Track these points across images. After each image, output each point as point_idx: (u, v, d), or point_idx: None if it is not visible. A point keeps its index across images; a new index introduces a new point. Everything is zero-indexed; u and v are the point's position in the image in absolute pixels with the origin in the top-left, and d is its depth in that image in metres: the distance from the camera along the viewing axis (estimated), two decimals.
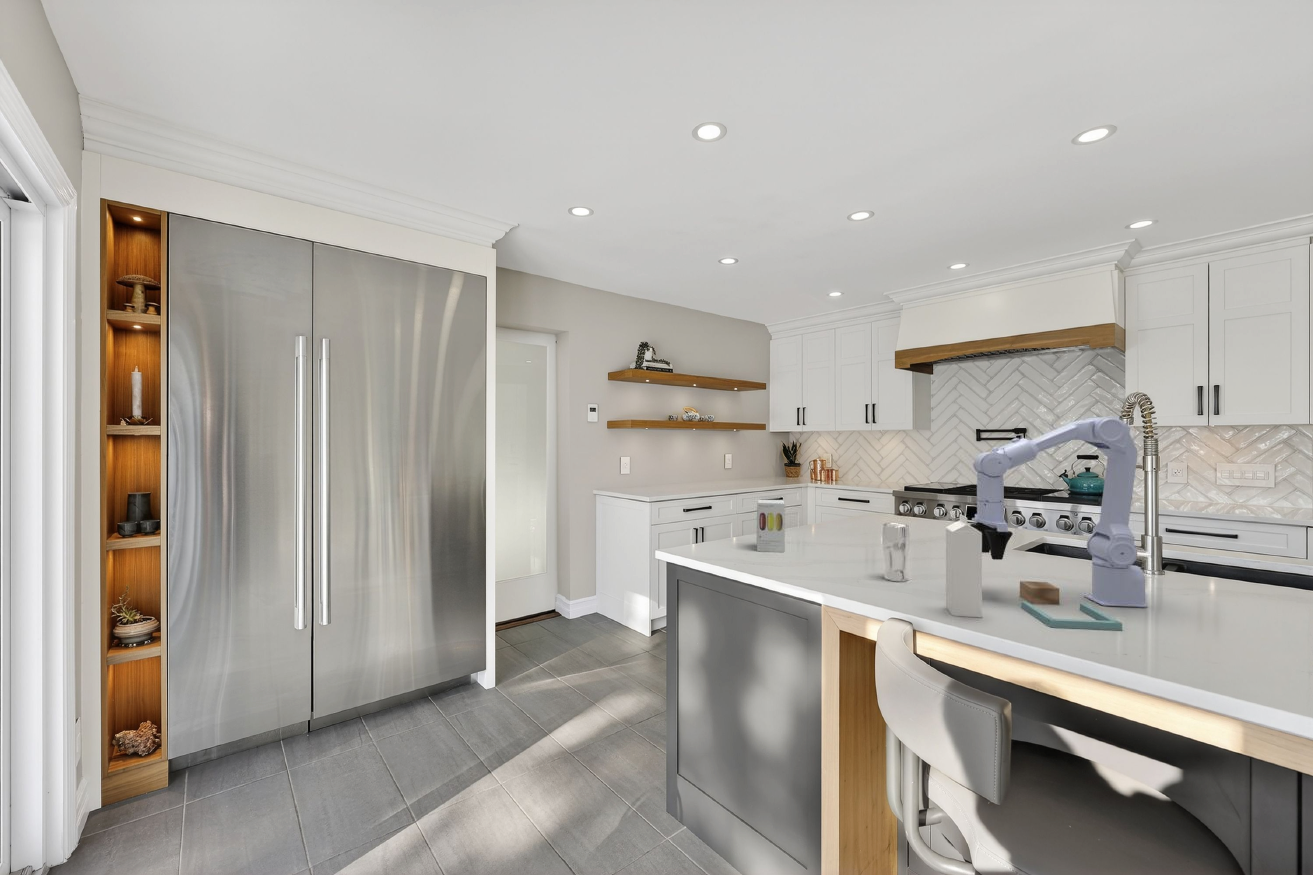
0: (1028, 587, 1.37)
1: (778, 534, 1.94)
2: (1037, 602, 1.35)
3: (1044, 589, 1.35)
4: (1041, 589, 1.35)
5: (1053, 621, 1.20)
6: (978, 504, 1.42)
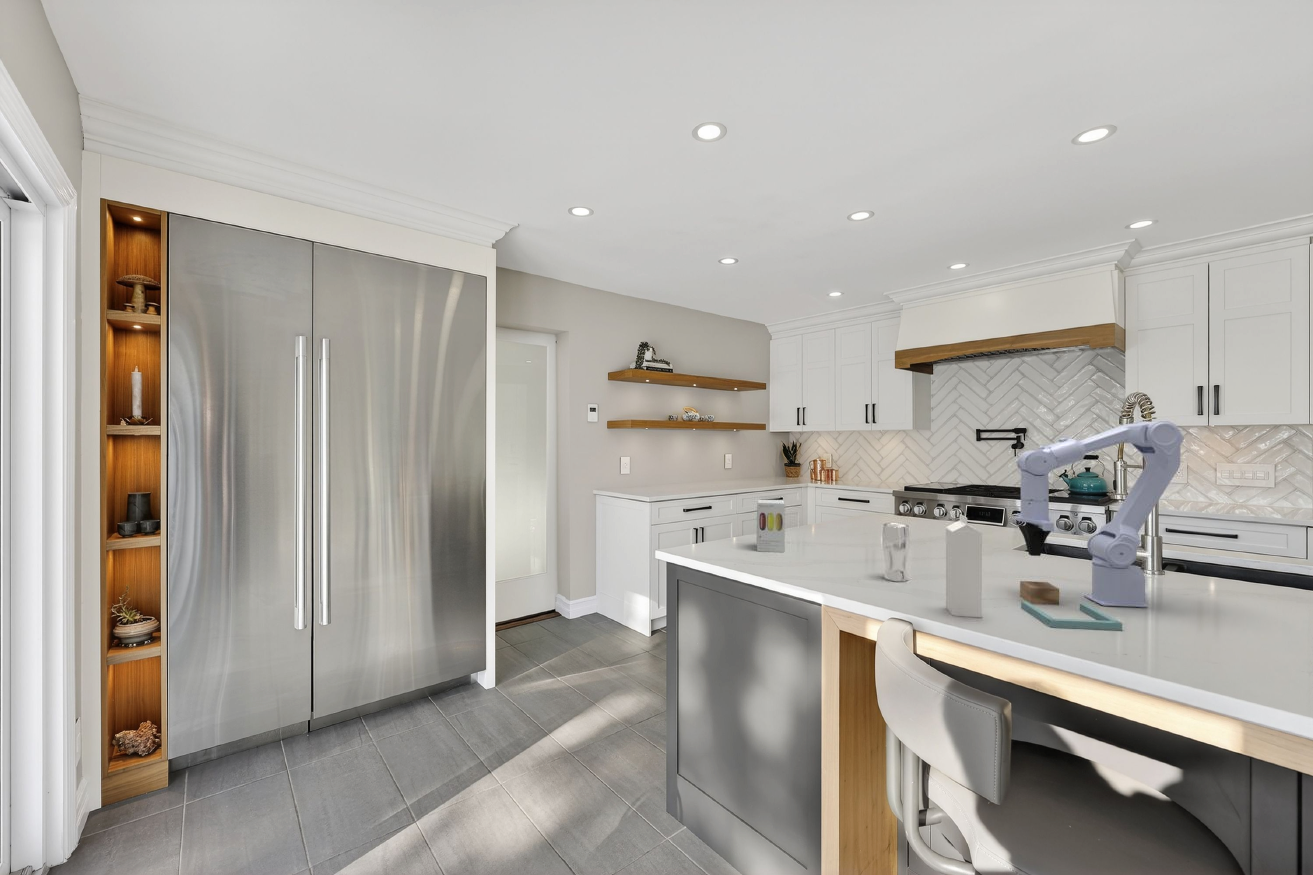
0: (1028, 587, 1.37)
1: (778, 534, 1.94)
2: (1037, 602, 1.35)
3: (1044, 589, 1.35)
4: (1041, 589, 1.35)
5: (1053, 621, 1.20)
6: (1022, 503, 1.40)
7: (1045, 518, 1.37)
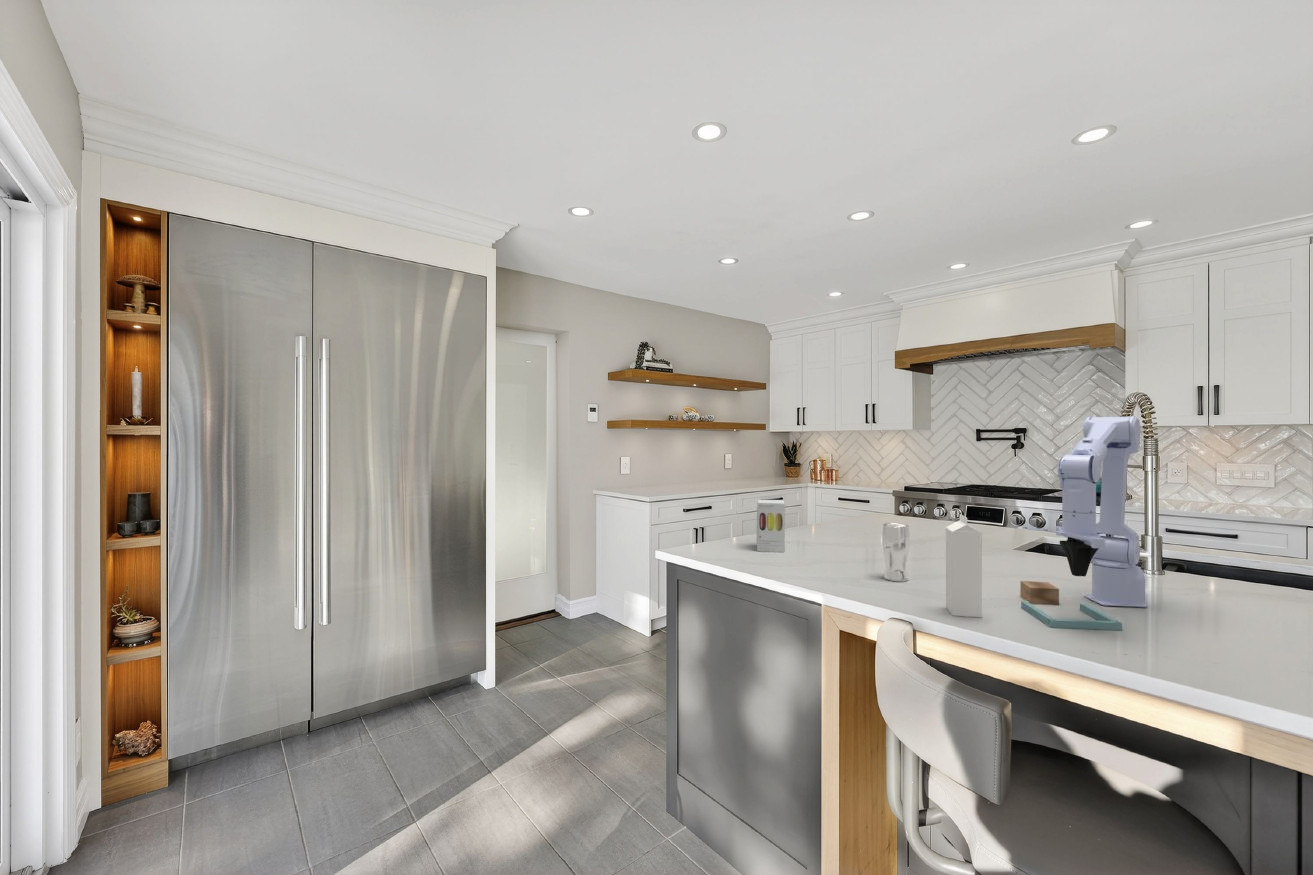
0: (1027, 587, 1.37)
1: (778, 534, 1.94)
2: (1036, 602, 1.35)
3: (1043, 589, 1.35)
4: (1040, 589, 1.35)
5: (1053, 621, 1.20)
6: (1064, 515, 1.21)
7: (1092, 533, 1.18)
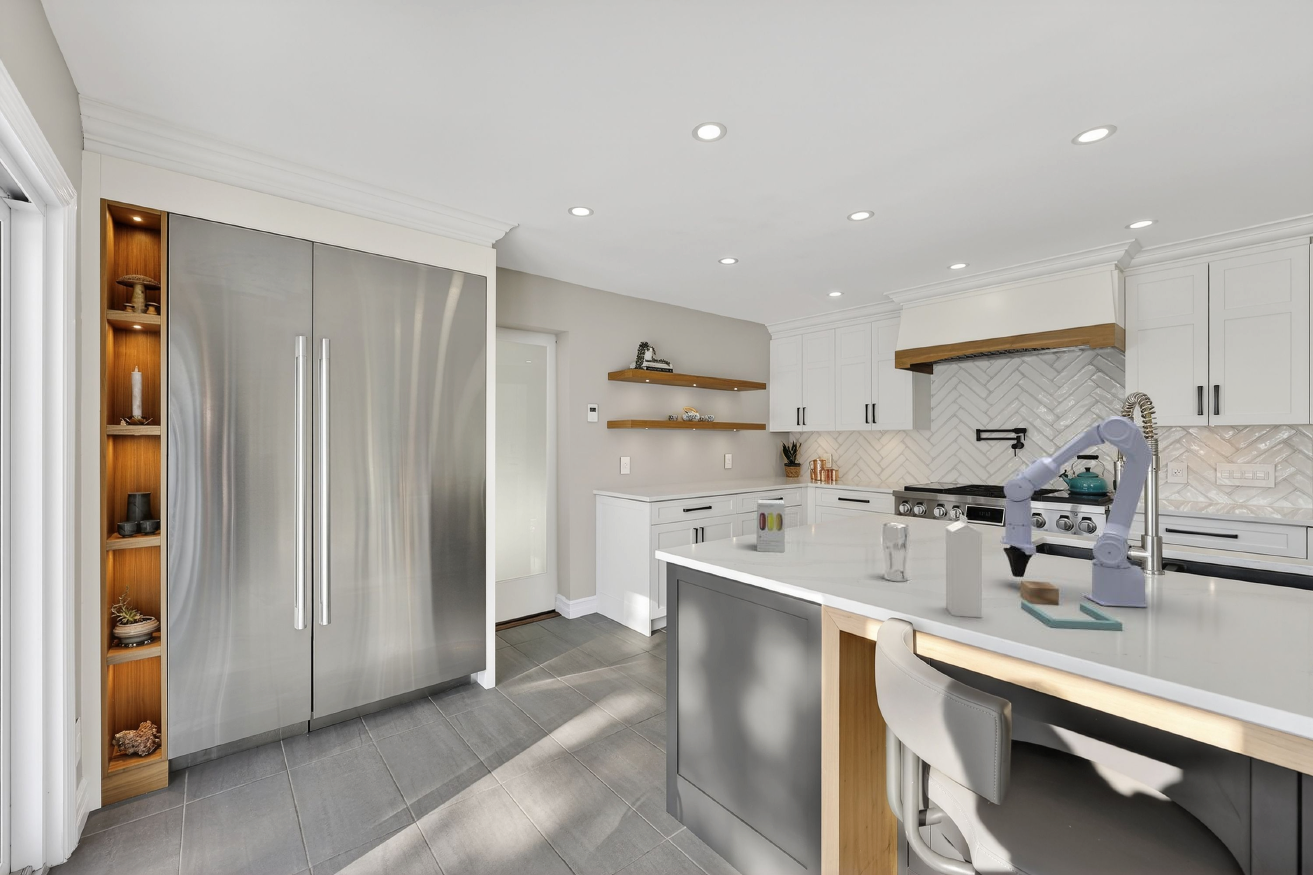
0: (1027, 587, 1.37)
1: (778, 534, 1.94)
2: (1036, 602, 1.35)
3: (1043, 589, 1.35)
4: (1040, 589, 1.35)
5: (1053, 621, 1.20)
6: (1007, 527, 1.49)
7: (1028, 542, 1.46)
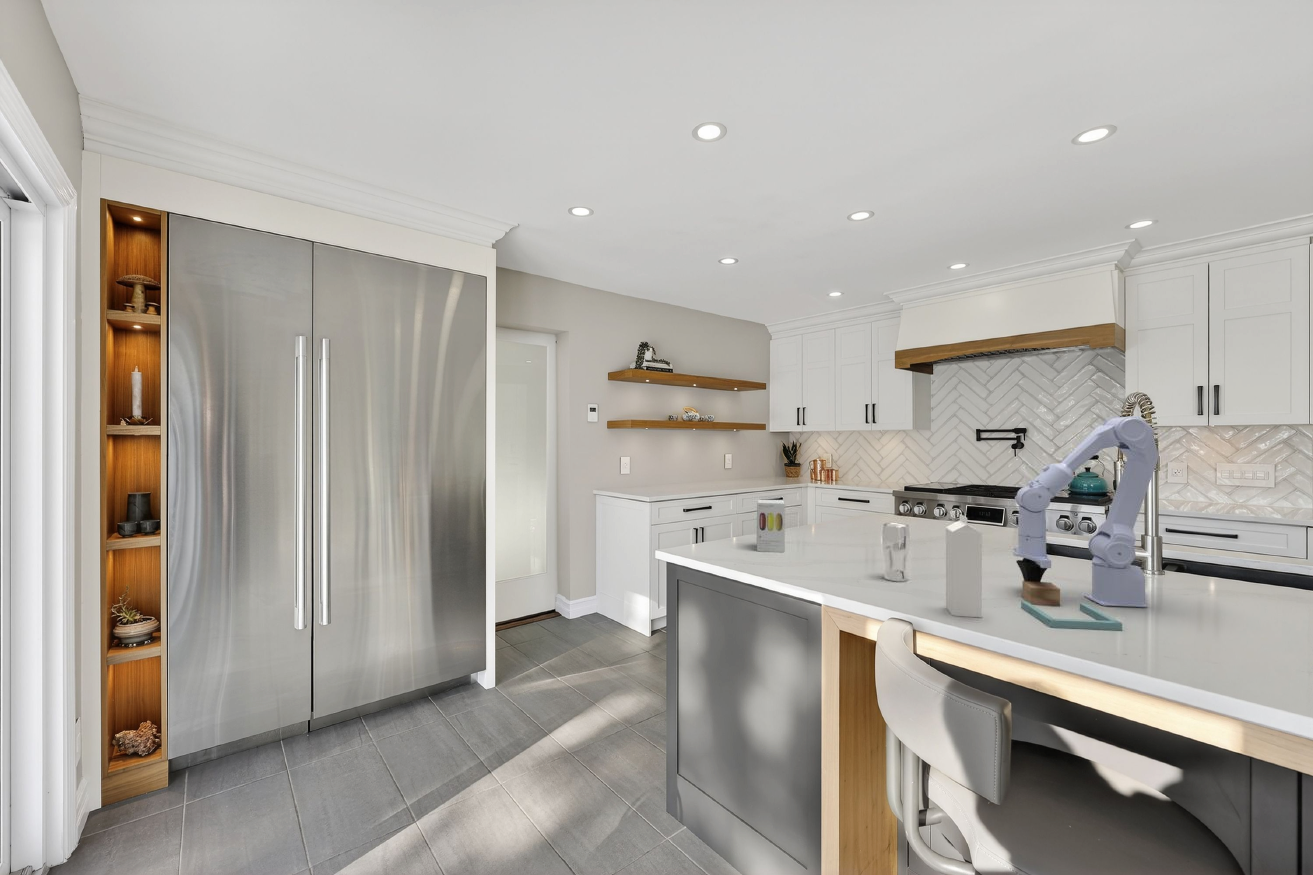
0: (1028, 587, 1.36)
1: (778, 534, 1.94)
2: (1037, 602, 1.35)
3: (1044, 589, 1.34)
4: (1041, 589, 1.34)
5: (1053, 621, 1.20)
6: (1020, 538, 1.42)
7: (1042, 554, 1.39)
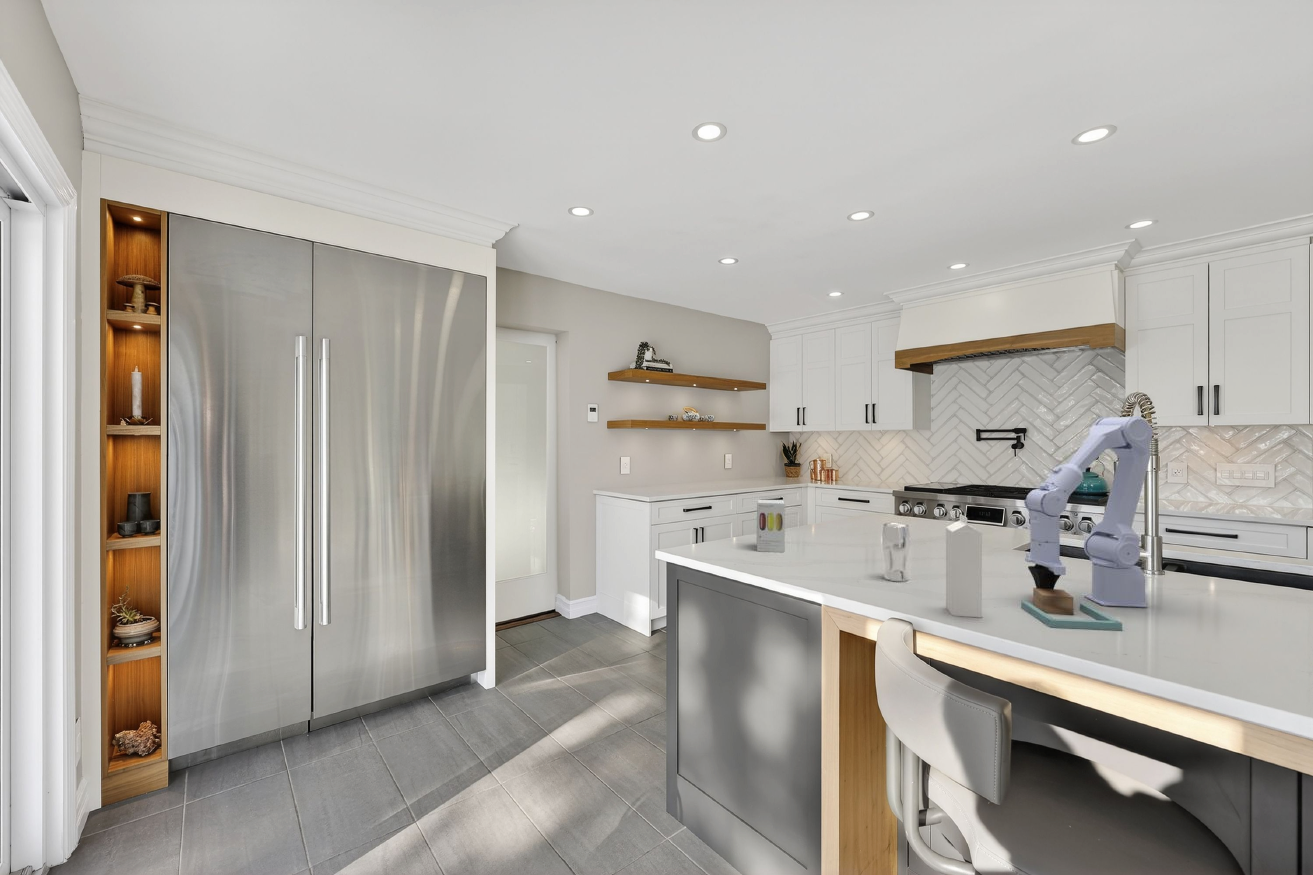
0: (1040, 594, 1.30)
1: (778, 534, 1.94)
2: (1049, 610, 1.28)
3: (1056, 597, 1.28)
4: (1053, 597, 1.28)
5: (1053, 621, 1.20)
6: (1032, 544, 1.35)
7: (1056, 560, 1.32)
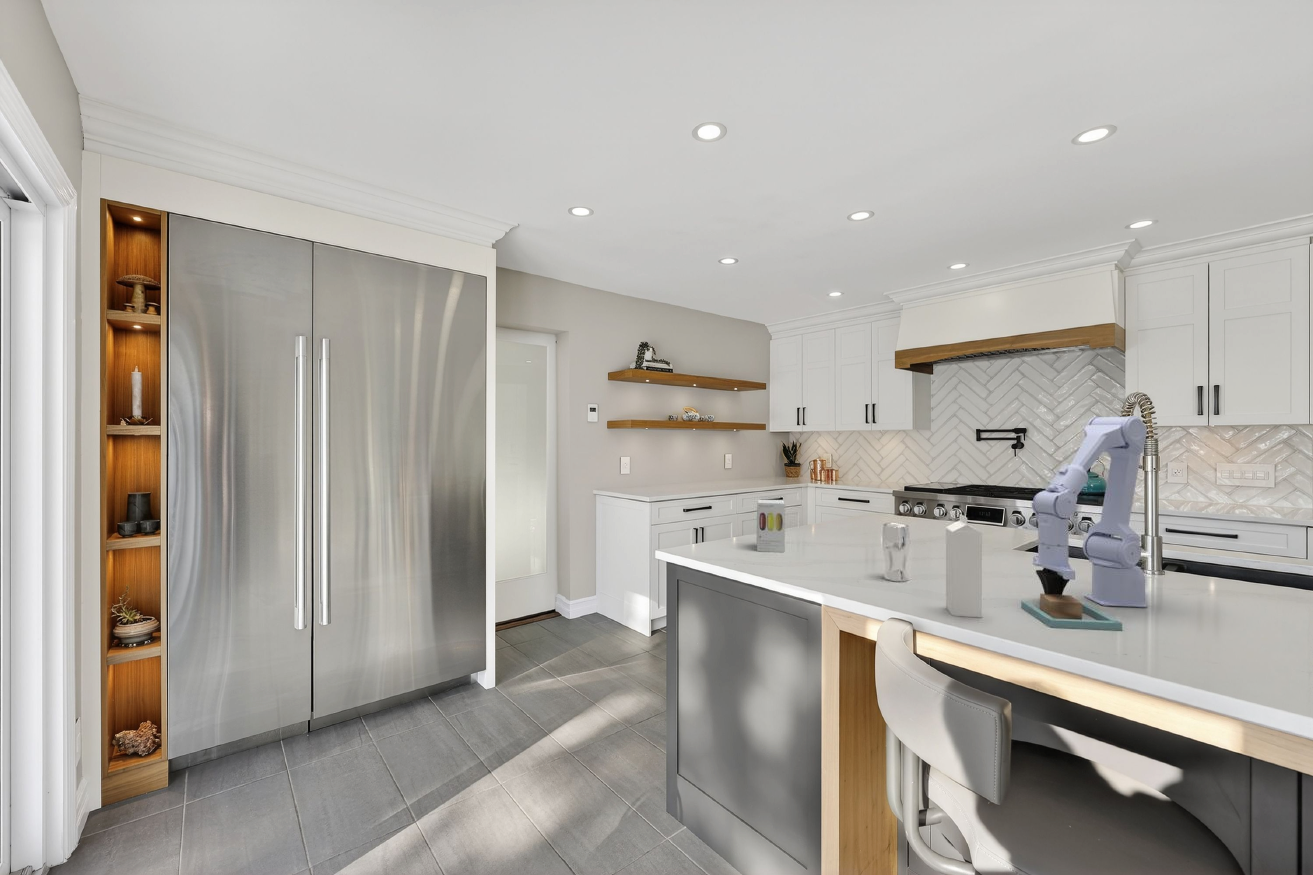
0: (1047, 600, 1.27)
1: (778, 534, 1.94)
2: (1057, 617, 1.25)
3: (1065, 603, 1.24)
4: (1061, 603, 1.25)
5: (1053, 621, 1.20)
6: (1040, 547, 1.32)
7: (1065, 564, 1.29)
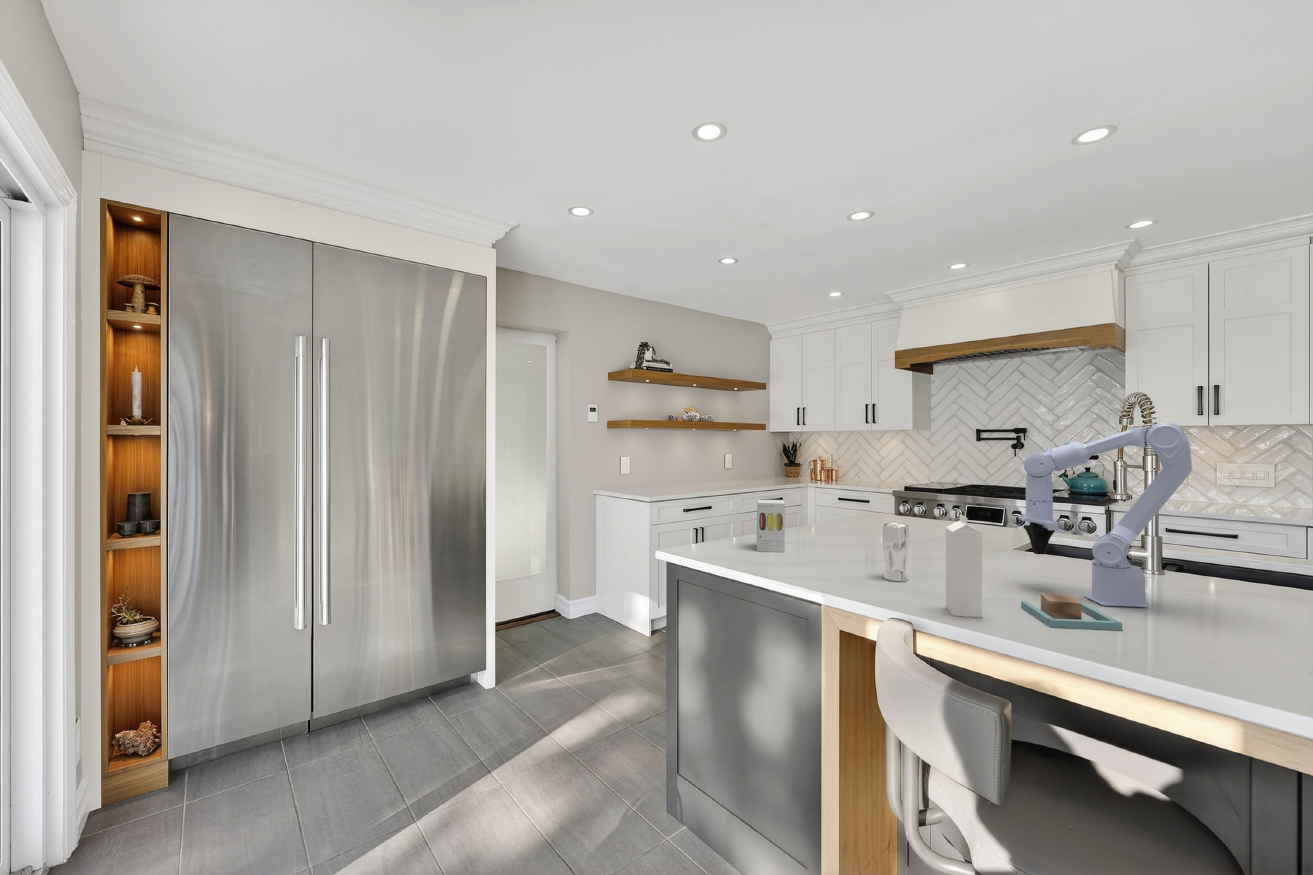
0: (1046, 600, 1.27)
1: (778, 534, 1.94)
2: (1056, 616, 1.25)
3: (1063, 603, 1.24)
4: (1060, 603, 1.25)
5: (1053, 621, 1.20)
6: (1027, 503, 1.46)
7: (1049, 518, 1.43)
